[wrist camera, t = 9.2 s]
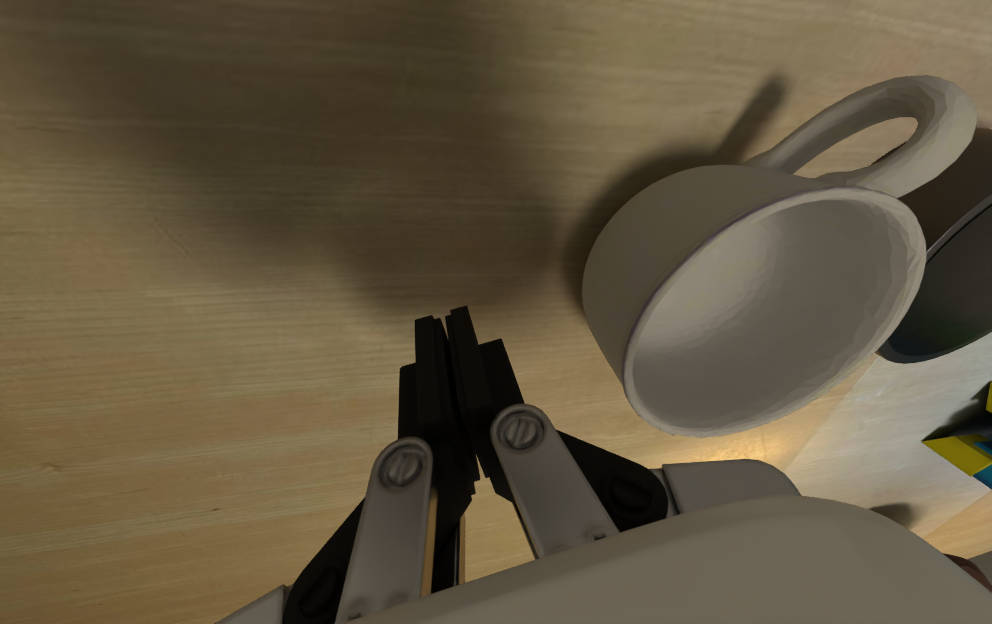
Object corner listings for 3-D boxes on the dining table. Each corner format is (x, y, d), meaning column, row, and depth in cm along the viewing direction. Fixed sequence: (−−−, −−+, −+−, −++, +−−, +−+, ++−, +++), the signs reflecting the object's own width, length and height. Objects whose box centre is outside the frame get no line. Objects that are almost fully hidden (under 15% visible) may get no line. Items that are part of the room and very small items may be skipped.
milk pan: (938, 81, 17) (1111, 80, 13) (1059, 231, 25) (1190, 261, 20) (755, 289, 22) (835, 337, 18) (903, 358, 30) (983, 403, 25)
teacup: (640, 358, 23) (730, 466, 17) (514, 287, 18) (571, 401, 12) (829, 174, 18) (1063, 223, 12) (727, 11, 13) (1027, -60, 7)
